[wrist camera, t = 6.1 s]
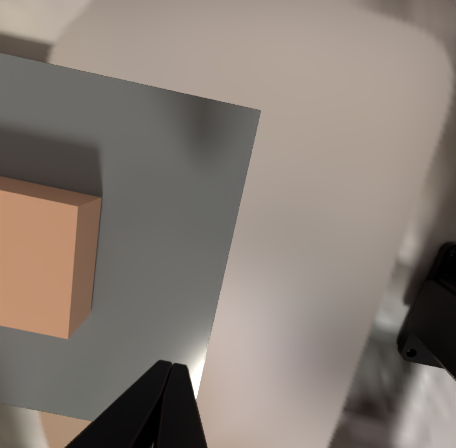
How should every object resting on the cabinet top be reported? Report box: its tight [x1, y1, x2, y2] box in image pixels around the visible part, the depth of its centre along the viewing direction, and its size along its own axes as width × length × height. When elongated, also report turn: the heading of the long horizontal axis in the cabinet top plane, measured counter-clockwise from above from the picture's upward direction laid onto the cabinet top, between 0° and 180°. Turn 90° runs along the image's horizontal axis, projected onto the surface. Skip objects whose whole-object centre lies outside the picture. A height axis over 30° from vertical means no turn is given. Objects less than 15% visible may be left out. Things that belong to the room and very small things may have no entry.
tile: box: [0, 176, 102, 339], centre depth 13 cm, size 2×6×7 cm
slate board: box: [0, 53, 261, 421], centre depth 15 cm, size 16×18×1 cm
